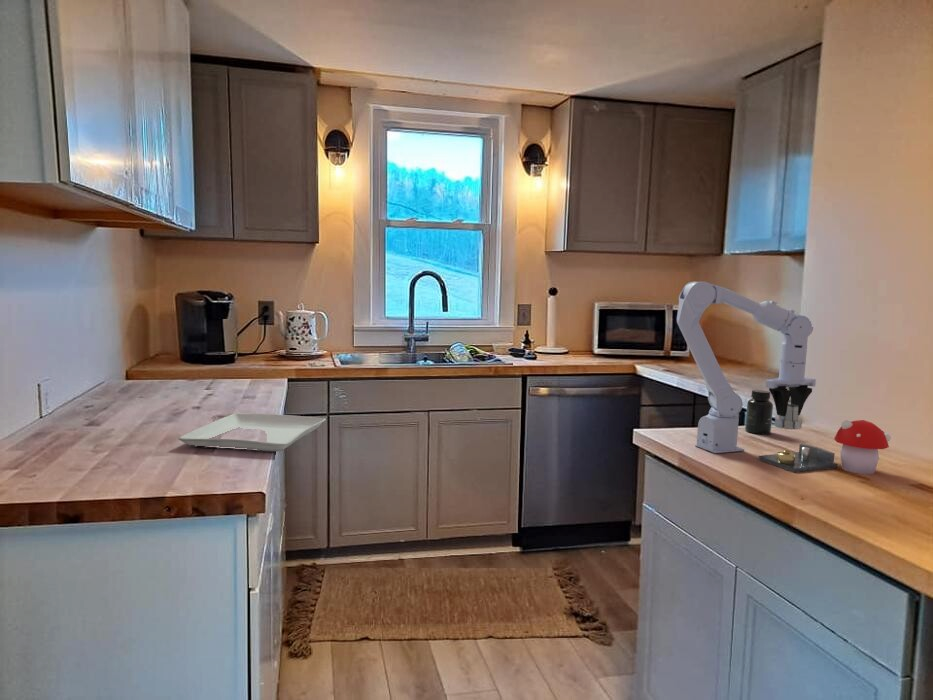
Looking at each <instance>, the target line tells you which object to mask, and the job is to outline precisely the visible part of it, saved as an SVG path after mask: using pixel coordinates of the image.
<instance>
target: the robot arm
mask: <svg viewBox="0 0 933 700" xmlns="http://www.w3.org/2000/svg"><path fill="white" fill-rule="evenodd" d="M711 304H725V305H727V306H730V307H733V308H735V309H737V310H740V311H743V312H744V313H745V312H746V313H748V314H751V315H752V317H753V319H754V322H755V323H758V324H761V325H763V326H766V327H768V328H769V329H772V330H774V331H777V332H780V333H781V334H782V339H781V348H780V349H781V351H780V361H779V370H778V373H779V374H778V377H777V378H771V379H766V382H765V388H768V392H770V395H771V396H772V399H773V401H774V406H775V411H776V414H777V416H779V415H780V416H786V413H787V406H788V404H789V401H790V404H794V405H798V416H801V412H802V410H803V408H804V405H805V403H806V401H807V399H808V398H809V397H810V395H811V394H812V393H813V388H814V387H816V384H817V381H816V380H817V379H816V378H812V377H805V375H806V363H807V355H808V353H807V352H808V338H809V336H810V335H812V332H813V331H814V326H813V324H812V321H811V320H810V318H808V317H807V316H805V315H800V314H796V312H795V310H794V309H791V308H790V309H786V308H785V307H782V306H780V305H777V304H778V302H776V301H774V300H770V301H767V300H764V301H762V302H756V301H755V300H752V299H751V298H749V297H746V296H744V295H741V294H739V293H737V292H735V291H733V290H731V289H729V288H726V287H723V286H720V285H717V284H711V283H709V282H707V281H689V282H688V283H687V284H685V285H684V286H683V289H682V291H680V294H679V295H678V308H677V313H676V314H677V315H676V324H677V326H678V328H679V330H680V332H681V334H682V336H683V338H684V340H685V343H686V345H687V347H688V349H689V351H690V353H691V355H692V357H693V360H694V362H695V364H696V366H697V368H698V370H699V372H700V374H701V376H702V378H703V380H704V383H705V388H706V390H707V394H708V395H707V401H708V404H709V405H710V406H711V407H710V409H709V411H708V414H706V415H704V416H702V417H700V419H699V420H698V424H697V435H696V442H695V443H694V446H695V447H698V448H700V449H703V450H705V451H709V452H711V453H714V454H723V453H733V452H744V451H745V448H744V447H740V446H738V445H737V444H738V434H739V433H738V432H739V421H740V420H739V418H740V412H741V411H742V409H743V405H744V404H743V398H742V397H741V395H739V394H738V393H736V392H735V391H734V390H733V387H732V385H731V383H729V381H728V380H727V378H726V377H725V375H724V373H723V370H722V368H721V366H720V364H719V362H718V360H717V358H716V356H715V353H714V351H713V350H712V347H711V345H710V343H709V342H708V339H707V337H706V335H705V334H706V333H704V330H703V329H702V326H701V323H700V320H701V319H702V316H703V314H704V312H705V310H706V309H707V308H708V307H709V306H710V305H711ZM812 387H813V388H812Z"/></svg>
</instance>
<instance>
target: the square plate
mask: <svg viewBox="0 0 933 700" xmlns="http://www.w3.org/2000/svg"><path fill="white" fill-rule="evenodd" d="M323 422H326V418H325V417H314V416H304V415H303V416H301V415H289V414H288V415H287V414H275V413H273V414H272V413H269V414H268V413H231V414H229V415H227V416H224V417H222V418H218V419H216V420H214V421H212V422H210V423H207V424H205V425H203V426H200V427H198V428H197V429H194V430H192V431H189V432H188V433H185V434H184V435H182V436H179V437H178V440H179V441H181V442H182V443H184V445H187V444H188V446H191V445H197V446H219V447H235V448H247V449H257V450H265V451H264V452H281V451H283V450H285V449H287V448H288V447H290V446H291V445H293V444H294V443H296V442H297V441H298V440H300V439H301V438H303V437H305V436H307V435H308V434H310V433H312V432H313V431H315V430H316V429H318V428H319V427H320V426H321V424H323ZM238 427H240V428H243V429H244V430H245V429H252V430H253V429H261V430H263V431H265V433H266V434H267V442H261V441H252V440H240V439H209V438H212V437H215V436H217V435H219V434H222V433H225V432H227V431H230V430H232V429H236V428H238ZM197 446H196V447H197Z"/></svg>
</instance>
